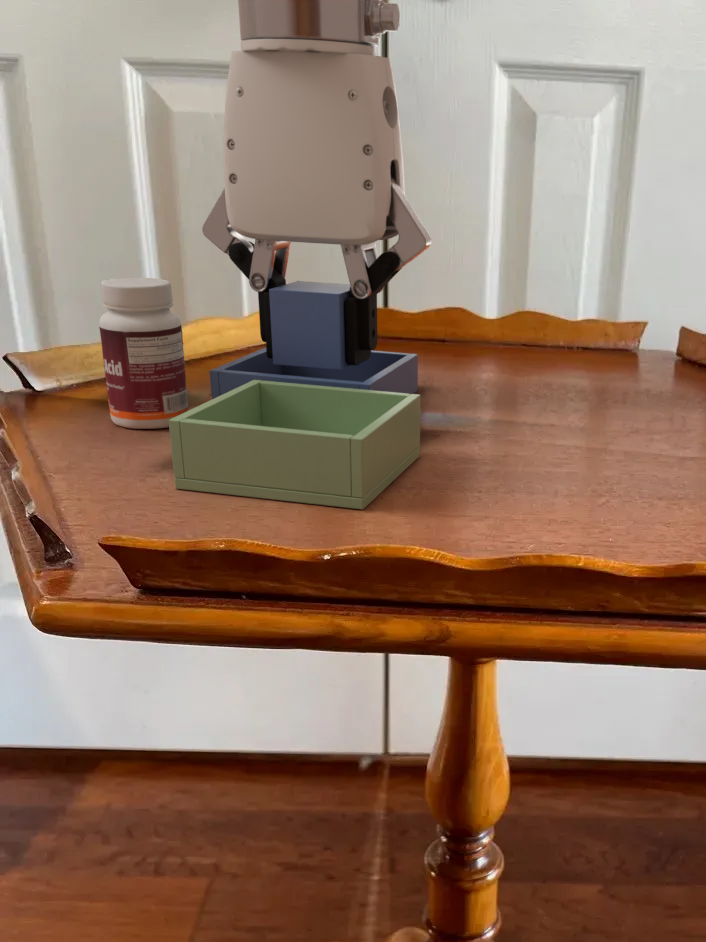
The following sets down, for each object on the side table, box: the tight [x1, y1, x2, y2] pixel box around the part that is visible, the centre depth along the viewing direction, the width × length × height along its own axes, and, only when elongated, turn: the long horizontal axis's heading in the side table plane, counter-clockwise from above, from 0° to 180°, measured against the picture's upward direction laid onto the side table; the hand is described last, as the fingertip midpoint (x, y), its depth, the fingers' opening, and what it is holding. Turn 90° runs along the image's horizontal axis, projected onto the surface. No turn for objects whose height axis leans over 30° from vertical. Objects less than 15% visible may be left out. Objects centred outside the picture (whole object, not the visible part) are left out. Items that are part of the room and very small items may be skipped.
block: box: [269, 280, 351, 370], centre depth 64 cm, size 4×4×4 cm
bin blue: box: [209, 346, 419, 400], centre depth 66 cm, size 10×10×4 cm
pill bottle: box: [98, 276, 190, 430], centre depth 63 cm, size 5×5×8 cm
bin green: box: [168, 380, 422, 510], centre depth 55 cm, size 10×10×4 cm
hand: (319, 355), depth 65 cm, fingers closed on block, 4 cm apart
